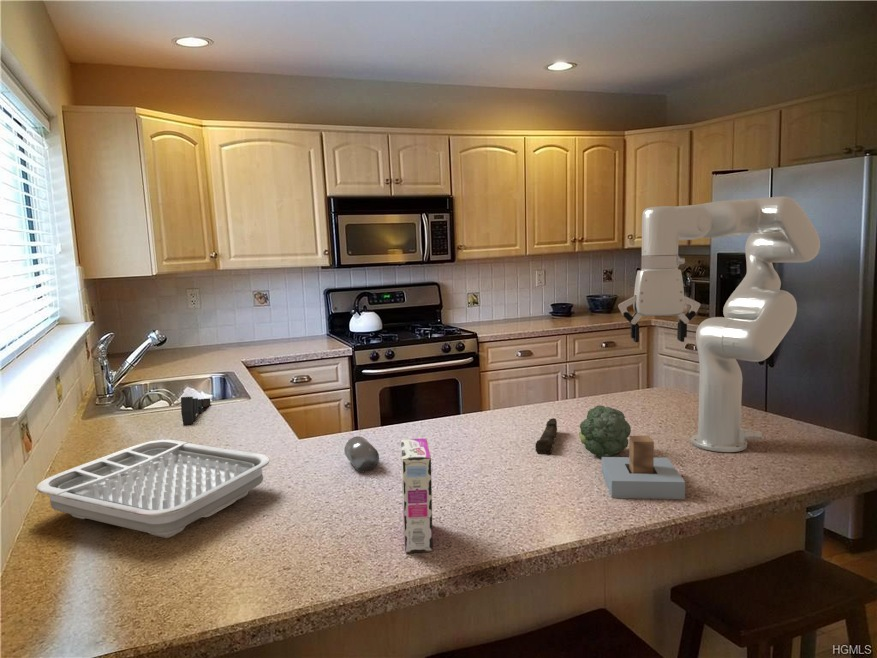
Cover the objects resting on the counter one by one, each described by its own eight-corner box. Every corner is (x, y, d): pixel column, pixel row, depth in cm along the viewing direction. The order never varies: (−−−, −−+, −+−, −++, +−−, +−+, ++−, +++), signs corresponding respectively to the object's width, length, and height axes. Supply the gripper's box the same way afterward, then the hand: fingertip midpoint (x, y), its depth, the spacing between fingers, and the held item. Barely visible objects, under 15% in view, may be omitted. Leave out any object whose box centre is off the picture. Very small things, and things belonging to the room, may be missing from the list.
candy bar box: (435, 552, 102) (431, 457, 100) (405, 554, 102) (401, 459, 100) (430, 522, 113) (427, 436, 111) (403, 524, 113) (399, 438, 111)
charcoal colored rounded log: (551, 456, 147) (551, 437, 147) (535, 454, 149) (535, 436, 148) (564, 434, 165) (564, 417, 164) (549, 432, 166) (549, 416, 166)
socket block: (667, 473, 134) (667, 457, 133) (684, 499, 120) (685, 482, 119) (601, 472, 135) (601, 456, 135) (611, 497, 122) (611, 480, 121)
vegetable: (613, 430, 158) (648, 418, 145) (596, 473, 153) (630, 465, 139) (575, 405, 157) (606, 390, 144) (556, 447, 152) (586, 436, 138)
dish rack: (164, 558, 103) (160, 513, 102) (26, 524, 118) (21, 484, 117) (283, 489, 132) (281, 453, 131) (160, 469, 147) (157, 436, 146)
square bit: (648, 481, 129) (649, 435, 128) (653, 488, 125) (653, 441, 124) (629, 481, 130) (629, 435, 129) (633, 488, 126) (633, 441, 125)
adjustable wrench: (212, 419, 207) (191, 424, 182) (203, 420, 207) (181, 425, 182) (211, 394, 208) (190, 396, 183) (203, 395, 207) (180, 397, 183)
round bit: (370, 458, 149) (380, 469, 141) (345, 463, 146) (353, 474, 139) (368, 434, 148) (378, 443, 140) (343, 438, 145) (351, 448, 138)
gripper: (695, 262, 136) (693, 338, 139) (616, 264, 139) (615, 339, 141) (706, 263, 129) (704, 343, 131) (621, 265, 131) (621, 344, 133)
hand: (658, 341), depth 136 cm, fingers open, 9 cm apart
